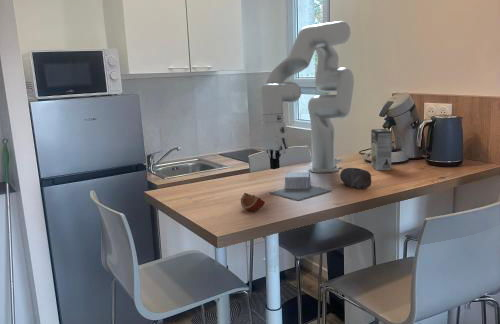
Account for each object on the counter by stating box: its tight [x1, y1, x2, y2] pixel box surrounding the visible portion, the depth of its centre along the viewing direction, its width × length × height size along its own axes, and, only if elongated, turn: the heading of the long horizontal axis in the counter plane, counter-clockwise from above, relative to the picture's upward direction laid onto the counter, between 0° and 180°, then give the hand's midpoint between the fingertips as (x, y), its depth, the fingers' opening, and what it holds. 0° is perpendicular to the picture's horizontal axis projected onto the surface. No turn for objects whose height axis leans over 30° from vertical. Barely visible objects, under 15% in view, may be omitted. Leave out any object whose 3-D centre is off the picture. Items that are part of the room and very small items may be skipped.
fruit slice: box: [240, 192, 266, 212], centre depth 132 cm, size 8×7×5 cm
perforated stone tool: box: [339, 167, 372, 190], centre depth 153 cm, size 15×5×7 cm, turn 22°
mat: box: [269, 185, 332, 202], centre depth 150 cm, size 16×14×1 cm
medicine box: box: [284, 171, 311, 189], centre depth 156 cm, size 8×4×9 cm
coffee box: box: [370, 128, 393, 171], centre depth 180 cm, size 9×6×16 cm
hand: (275, 168), depth 159 cm, fingers closed
